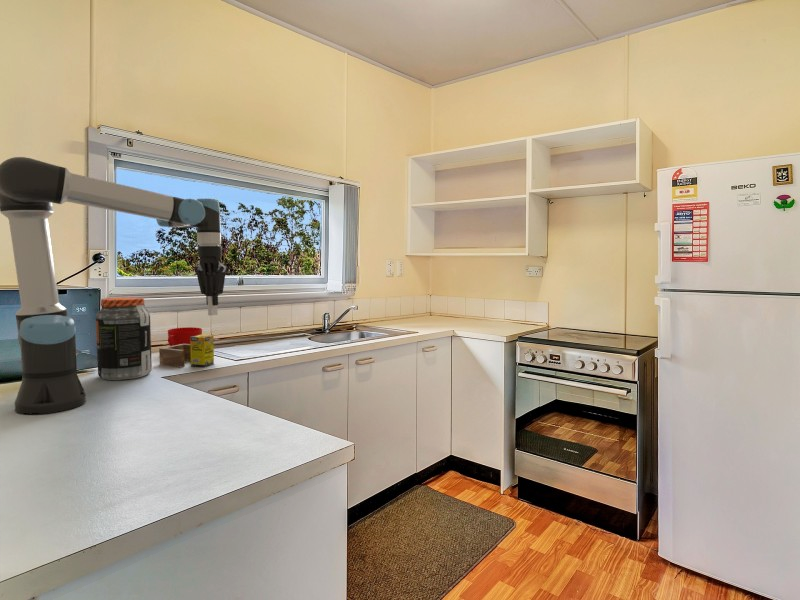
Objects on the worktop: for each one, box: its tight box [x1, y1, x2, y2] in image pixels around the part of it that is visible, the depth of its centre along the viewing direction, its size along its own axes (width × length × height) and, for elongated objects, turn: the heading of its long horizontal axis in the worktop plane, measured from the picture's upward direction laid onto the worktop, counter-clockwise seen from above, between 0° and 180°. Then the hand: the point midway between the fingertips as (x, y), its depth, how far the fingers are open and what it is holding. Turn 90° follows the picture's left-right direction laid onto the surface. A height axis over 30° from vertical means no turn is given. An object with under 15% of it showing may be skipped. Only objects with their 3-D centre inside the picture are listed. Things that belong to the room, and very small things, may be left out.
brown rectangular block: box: [158, 344, 191, 368], centre depth 183 cm, size 12×10×6 cm
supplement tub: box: [95, 297, 153, 381], centre depth 161 cm, size 16×16×26 cm
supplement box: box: [190, 334, 215, 368], centre depth 179 cm, size 6×6×11 cm
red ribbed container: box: [167, 326, 203, 346], centre depth 199 cm, size 13×17×10 cm
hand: (212, 314), depth 166 cm, fingers closed
